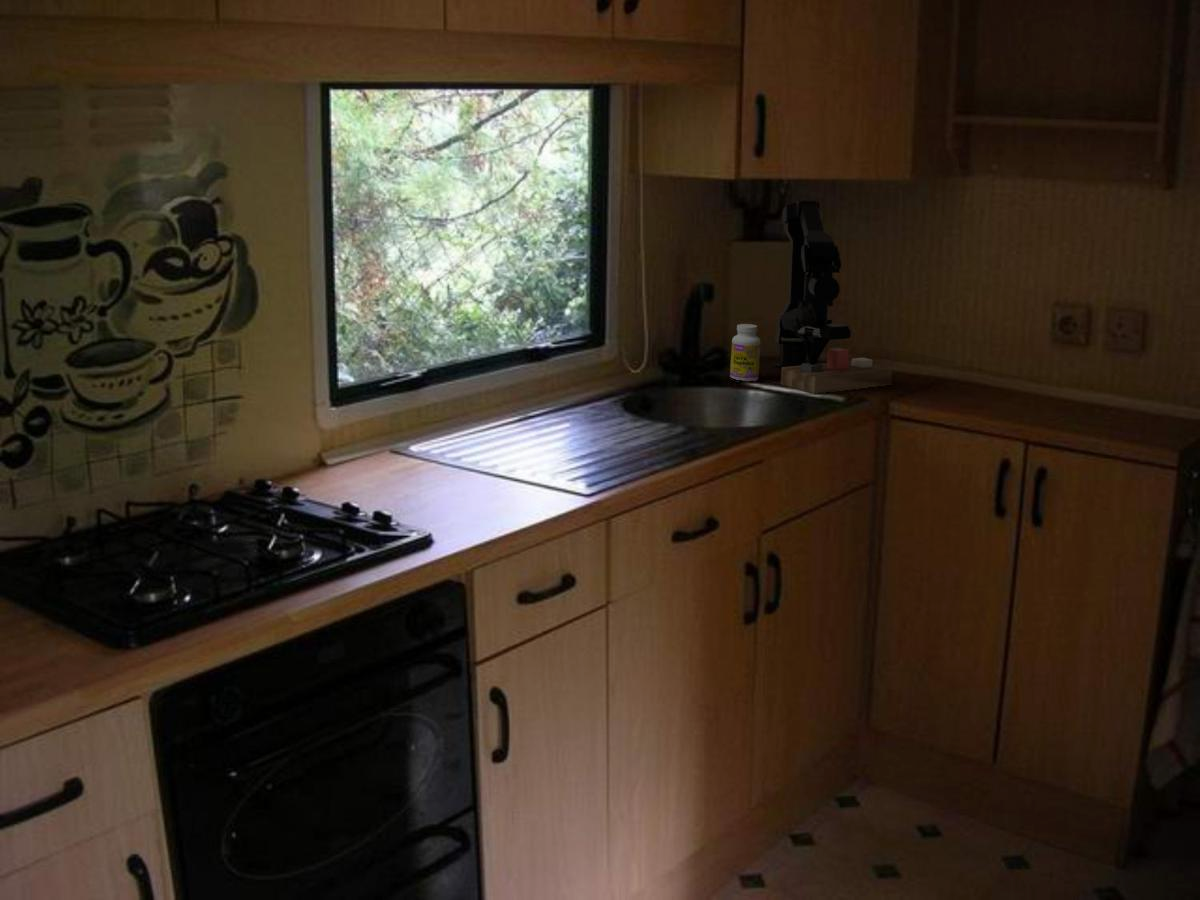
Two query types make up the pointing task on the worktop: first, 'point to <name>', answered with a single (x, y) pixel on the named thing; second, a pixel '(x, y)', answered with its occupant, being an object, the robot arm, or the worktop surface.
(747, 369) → the supplement bottle
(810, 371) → the gray rectangular block
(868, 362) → the plug white
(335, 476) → the worktop surface
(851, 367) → the block
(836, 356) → the plug red
